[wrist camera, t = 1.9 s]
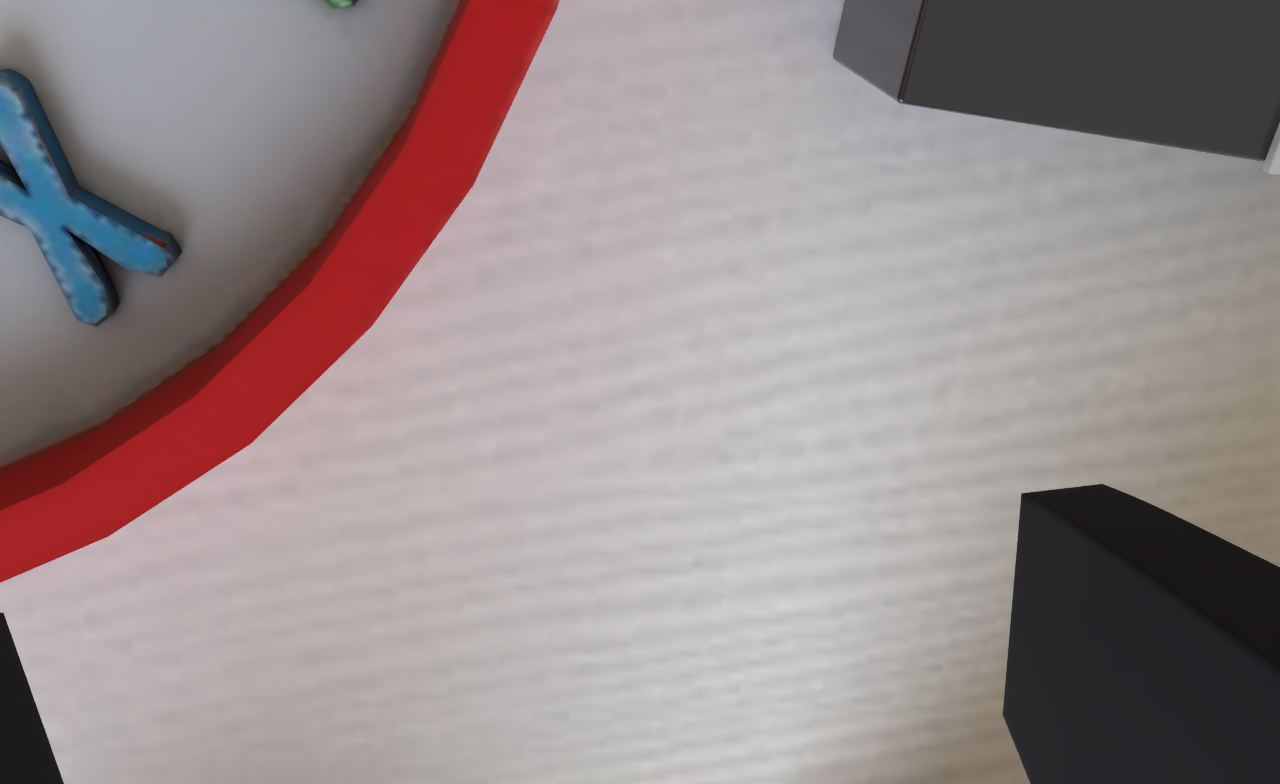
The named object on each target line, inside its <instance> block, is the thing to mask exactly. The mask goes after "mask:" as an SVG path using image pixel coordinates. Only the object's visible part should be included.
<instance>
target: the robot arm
mask: <svg viewBox="0 0 1280 784" xmlns="http://www.w3.org/2000/svg"><path fill="white" fill-rule="evenodd" d="M1003 716H1004V719H1005V721H1006V724H1007V726H1008V729H1009V731H1010V734H1011V736H1012V739H1013V741H1014V743H1015V746H1016V748H1017V751H1018V753H1019V756H1020V758H1021V761H1022V763H1023V766H1024V768H1025V771H1026V773H1027V776H1028V778H1029V781H1030V783H1031V784H1280V567H1278V566H1276V565H1274V564H1272V563H1270V562H1268V561H1266V560H1264V559H1262V558H1260V557H1258V556H1256V555H1254V554H1252V553H1250V552H1248V551H1246V550H1244V549H1242V548H1240V547H1238V546H1236V545H1234V544H1232V543H1230V542H1228V541H1226V540H1224V539H1222V538H1220V537H1218V536H1216V535H1214V534H1212V533H1210V532H1208V531H1206V530H1204V529H1202V528H1200V527H1197V526H1195V525H1193V524H1191V523H1189V522H1187V521H1185V520H1183V519H1181V518H1179V517H1177V516H1175V515H1173V514H1171V513H1169V512H1166V511H1164V510H1162V509H1160V508H1158V507H1156V506H1154V505H1151V504H1149V503H1147V502H1145V501H1143V500H1140V499H1138V498H1136V497H1133V496H1131V495H1129V494H1126V493H1124V492H1121V491H1119V490H1116V489H1114V488H1111V487H1109V486H1106V485H1103V484H1098V485H1090V486H1081V487H1073V488H1064V489H1056V490H1047V491H1039V492H1030V493H1022V495H1021V507H1020V519H1019V530H1018V542H1017V554H1016V566H1015V578H1014V589H1013V601H1012V613H1011V625H1010V637H1009V648H1008V660H1007V672H1006V684H1005V696H1004V707H1003ZM0 784H64V783H63V780H62V777H61V774H60V772H59V769H58V766H57V763H56V760H55V758H54V755H53V752H52V749H51V746H50V743H49V741H48V738H47V735H46V732H45V729H44V726H43V724H42V721H41V718H40V715H39V712H38V709H37V707H36V704H35V701H34V698H33V695H32V693H31V690H30V687H29V684H28V681H27V678H26V676H25V673H24V670H23V667H22V664H21V661H20V659H19V656H18V653H17V650H16V647H15V644H14V642H13V639H12V636H11V633H10V630H9V627H8V625H7V622H6V619H5V616H4V613H0Z"/></svg>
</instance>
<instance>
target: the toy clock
mask: <svg viewBox="0 0 1280 784" xmlns="http://www.w3.org/2000/svg"><path fill="white" fill-rule="evenodd" d="M558 3H559V0H0V582H3V581H5V580H7V579H10V578H12V577H14V576H17V575H19V574H21V573H24V572H26V571H28V570H31V569H33V568H35V567H38V566H40V565H42V564H45V563H47V562H49V561H52V560H54V559H56V558H59V557H61V556H64V555H66V554H68V553H71V552H73V551H75V550H78V549H80V548H82V547H85V546H87V545H89V544H92V543H94V542H96V541H99V540H101V539H103V538H106V537H108V536H110V535H111V534H113V533H114V532H116V531H117V530H119V529H120V528H122V527H123V526H125V525H126V524H128V523H130V522H131V521H133V520H134V519H136V518H137V517H139V516H140V515H142V514H143V513H145V512H146V511H148V510H150V509H151V508H153V507H154V506H156V505H157V504H159V503H160V502H162V501H163V500H165V499H166V498H168V497H170V496H171V495H173V494H174V493H176V492H177V491H179V490H180V489H182V488H183V487H185V486H186V485H188V484H189V483H191V482H193V481H194V480H196V479H197V478H199V477H200V476H202V475H203V474H205V473H206V472H208V471H209V470H211V469H213V468H214V467H216V466H217V465H219V464H220V463H222V462H223V461H225V460H226V459H228V458H229V457H231V456H233V455H234V454H236V453H237V452H239V451H240V450H242V449H243V448H245V447H246V446H248V445H249V444H251V443H252V442H253V441H254V440H255V439H256V438H257V437H258V436H259V435H260V434H261V433H262V432H263V431H264V430H265V429H266V428H267V427H268V426H270V425H271V424H272V423H273V422H274V421H275V420H276V419H277V418H278V417H279V416H280V415H281V414H282V413H283V412H284V411H285V410H286V409H287V408H288V407H289V406H290V405H291V404H292V403H293V402H294V401H295V400H296V399H297V398H298V397H299V396H300V395H301V394H302V393H303V392H305V391H306V390H307V389H308V388H309V387H310V386H311V385H312V384H313V383H314V382H315V381H316V380H317V379H318V378H319V377H320V376H321V375H322V374H323V373H324V372H325V371H326V370H327V369H328V368H329V367H330V366H331V365H332V364H333V363H334V362H335V361H336V360H337V359H338V358H340V357H341V356H342V355H343V354H344V353H345V352H346V351H347V350H348V349H349V348H350V347H351V346H352V345H353V344H354V343H355V342H356V341H357V340H358V339H359V338H360V337H361V336H362V335H363V334H364V333H365V332H366V331H367V330H368V329H369V328H370V327H371V326H372V325H373V324H374V322H375V321H376V320H377V318H378V317H379V316H380V314H381V313H382V311H383V310H384V309H385V307H386V306H387V304H388V303H389V302H390V300H391V299H392V297H393V296H394V295H395V293H396V292H397V290H398V289H399V288H400V286H401V285H402V284H403V282H404V281H405V279H406V278H407V277H408V275H409V274H410V272H411V271H412V270H413V268H414V267H415V265H416V264H417V263H418V261H419V260H420V258H421V257H422V256H423V254H424V253H425V252H426V250H427V249H428V247H429V246H430V245H431V243H432V242H433V240H434V239H435V238H436V236H437V235H438V233H439V232H440V231H441V229H442V228H443V227H444V225H445V224H446V222H447V221H448V220H449V218H450V217H451V215H452V214H453V213H454V211H455V210H456V208H457V207H458V206H459V204H460V203H461V201H462V200H463V199H464V197H465V196H466V195H467V193H468V192H469V190H470V189H471V188H472V186H473V185H474V183H475V180H476V178H477V176H478V174H479V172H480V170H481V168H482V166H483V164H484V161H485V159H486V157H487V155H488V153H489V151H490V149H491V147H492V144H493V142H494V140H495V138H496V136H497V134H498V132H499V130H500V128H501V125H502V123H503V121H504V119H505V117H506V115H507V113H508V111H509V109H510V106H511V104H512V102H513V100H514V98H515V96H516V94H517V92H518V90H519V87H520V85H521V83H522V81H523V79H524V77H525V75H526V73H527V71H528V68H529V66H530V64H531V62H532V60H533V58H534V56H535V54H536V52H537V49H538V47H539V45H540V43H541V41H542V39H543V37H544V35H545V33H546V30H547V28H548V26H549V24H550V22H551V20H552V18H553V16H554V14H555V11H556V9H557V6H558Z"/></svg>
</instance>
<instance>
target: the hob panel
mask: <svg viewBox="0 0 1280 784" xmlns="http://www.w3.org/2000/svg"><path fill="white" fill-rule="evenodd" d="M833 58H834V59H835V60H836V61H837V62H839V63H840V64H842V65H843V66H845V67H846V68H848V69H849V70H851V71H852V72H854V73H855V74H857V75H858V76H860V77H861V78H863V79H864V80H866V81H867V82H869V83H870V84H872V85H873V86H875V87H876V88H878V89H879V90H881V91H882V92H884V93H885V94H887V95H888V96H890V97H891V98H893V99H894V100H896V101H897V102H899V103H900V104H905V105H912V106H918V107H924V108H930V109H937V110H943V111H949V112H955V113H962V114H968V115H974V116H981V117H987V118H993V119H999V120H1006V121H1012V122H1018V123H1025V124H1031V125H1037V126H1043V127H1050V128H1056V129H1062V130H1069V131H1075V132H1081V133H1087V134H1094V135H1100V136H1106V137H1112V138H1119V139H1125V140H1131V141H1138V142H1144V143H1150V144H1156V145H1163V146H1169V147H1175V148H1182V149H1188V150H1194V151H1200V152H1207V153H1213V154H1219V155H1226V156H1232V157H1238V158H1244V159H1251V160H1257V161H1263V162H1264V164H1263V166H1262V171H1264V172H1266V173H1269V174H1275V175H1280V0H846V2H845V6H844V11H843V15H842V19H841V23H840V28H839V32H838V36H837V41H836V45H835V49H834V54H833Z"/></svg>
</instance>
